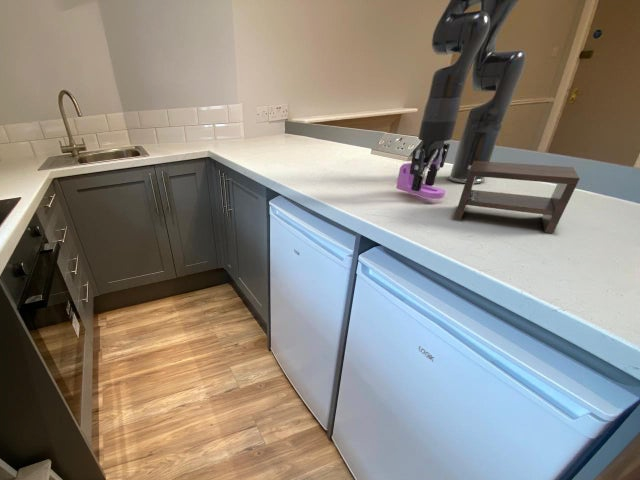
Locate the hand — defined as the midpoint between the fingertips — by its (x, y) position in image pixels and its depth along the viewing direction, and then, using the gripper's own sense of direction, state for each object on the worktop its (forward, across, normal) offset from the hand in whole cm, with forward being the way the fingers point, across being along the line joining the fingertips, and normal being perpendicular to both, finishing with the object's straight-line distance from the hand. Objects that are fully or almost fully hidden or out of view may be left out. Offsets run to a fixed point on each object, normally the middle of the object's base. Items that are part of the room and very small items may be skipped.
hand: (422, 187), depth 92 cm
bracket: (+1, 0, 0) cm, 1 cm away
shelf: (+3, -3, -21) cm, 21 cm away
